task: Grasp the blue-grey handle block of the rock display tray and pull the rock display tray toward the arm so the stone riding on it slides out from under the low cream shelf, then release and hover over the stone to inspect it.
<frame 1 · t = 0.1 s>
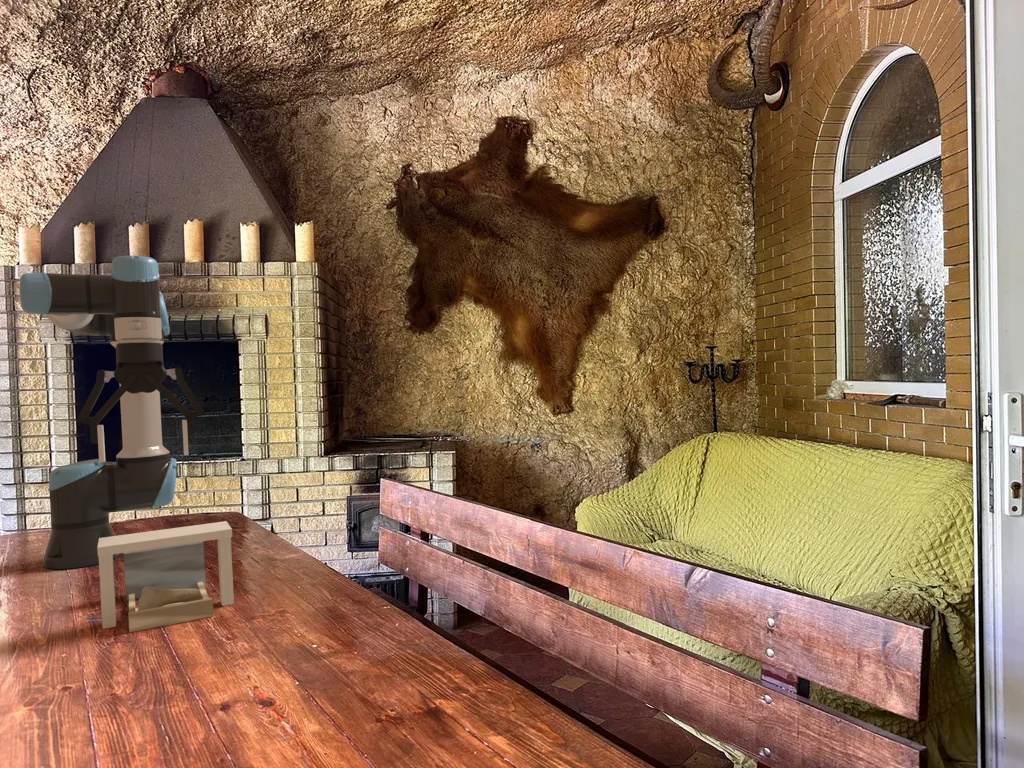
hand: (145, 458, 127), 28 cm above the table, fingers open, 13 cm apart
shelf: (170, 613, 124), on the table
stone: (170, 611, 125), resting on rock display tray
rock display tray: (167, 581, 129), point 4 cm above the table, slide at 0.0 cm, touching stone
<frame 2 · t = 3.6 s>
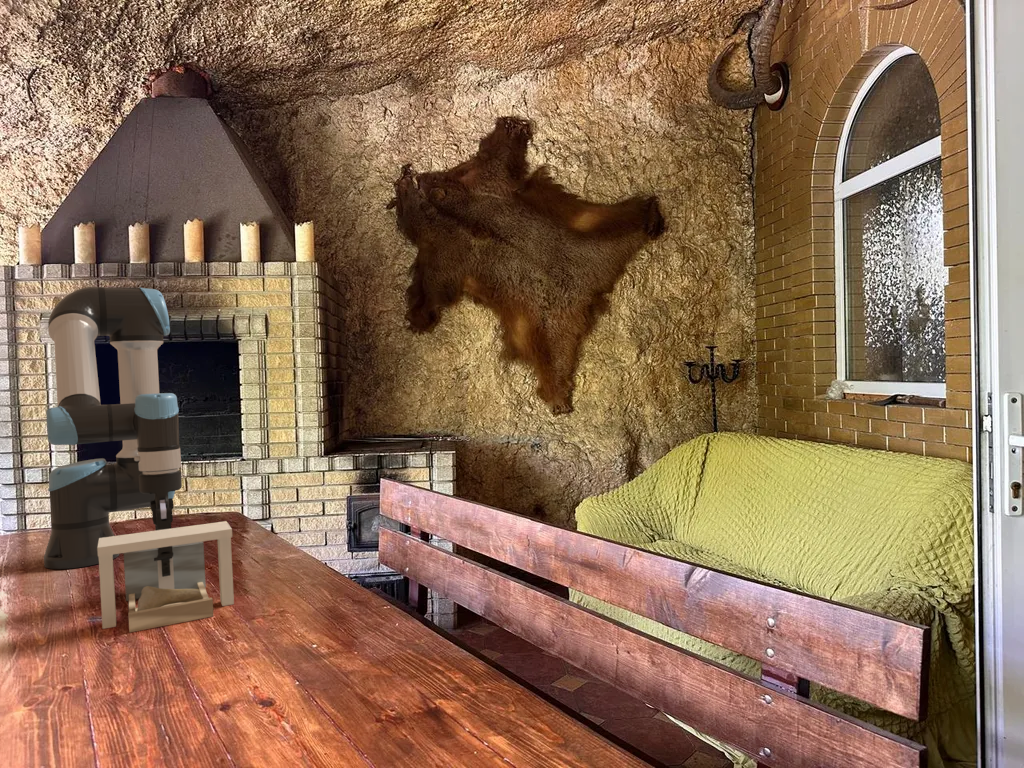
hand: (166, 588, 137), 1 cm above the table, fingers closed on rock display tray, 4 cm apart
rock display tray: (167, 581, 129), point 4 cm above the table, slide at 0.0 cm, touching gripper, stone
everything else where it was.
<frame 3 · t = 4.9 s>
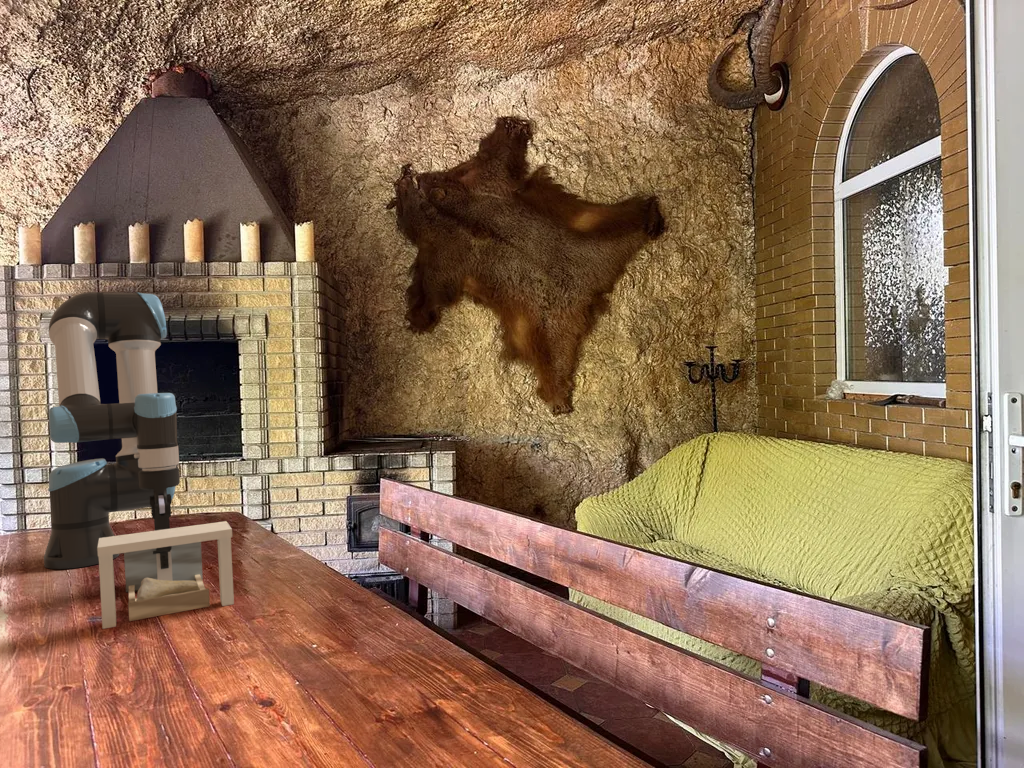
hand: (164, 580, 143), 1 cm above the table, fingers closed on rock display tray, 4 cm apart
stone: (168, 602, 130), resting on rock display tray
rock display tray: (166, 573, 134), point 4 cm above the table, slide at 6.2 cm, touching gripper, stone
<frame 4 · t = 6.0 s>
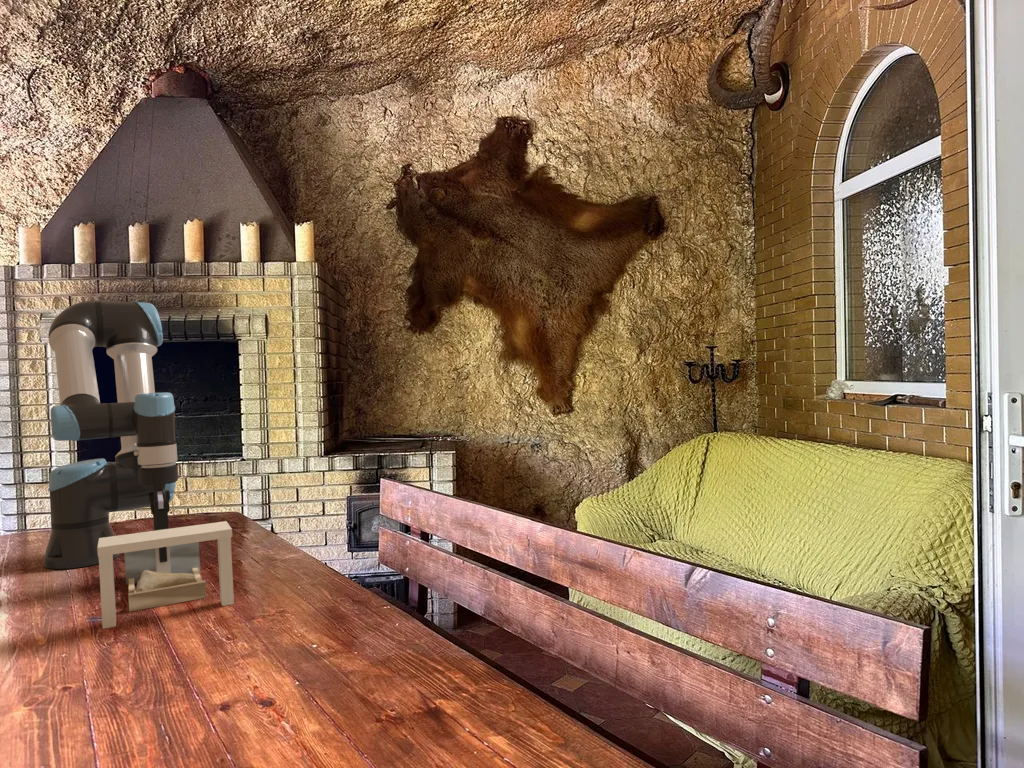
hand: (163, 573, 148), 1 cm above the table, fingers closed on rock display tray, 4 cm apart
stone: (166, 594, 135), resting on rock display tray
rock display tray: (164, 566, 139), point 5 cm above the table, slide at 12.0 cm, touching gripper, stone
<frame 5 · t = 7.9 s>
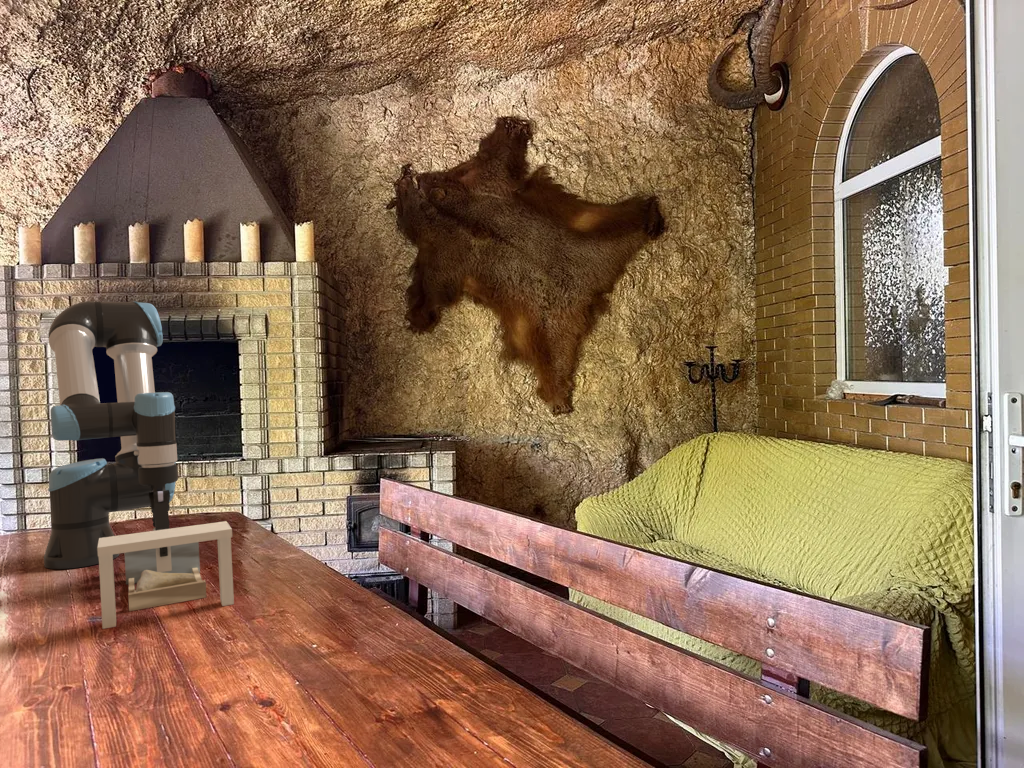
hand: (162, 563, 148), 3 cm above the table, fingers open, 13 cm apart
rock display tray: (164, 565, 139), point 4 cm above the table, slide at 12.2 cm, touching stone
everything else where it was.
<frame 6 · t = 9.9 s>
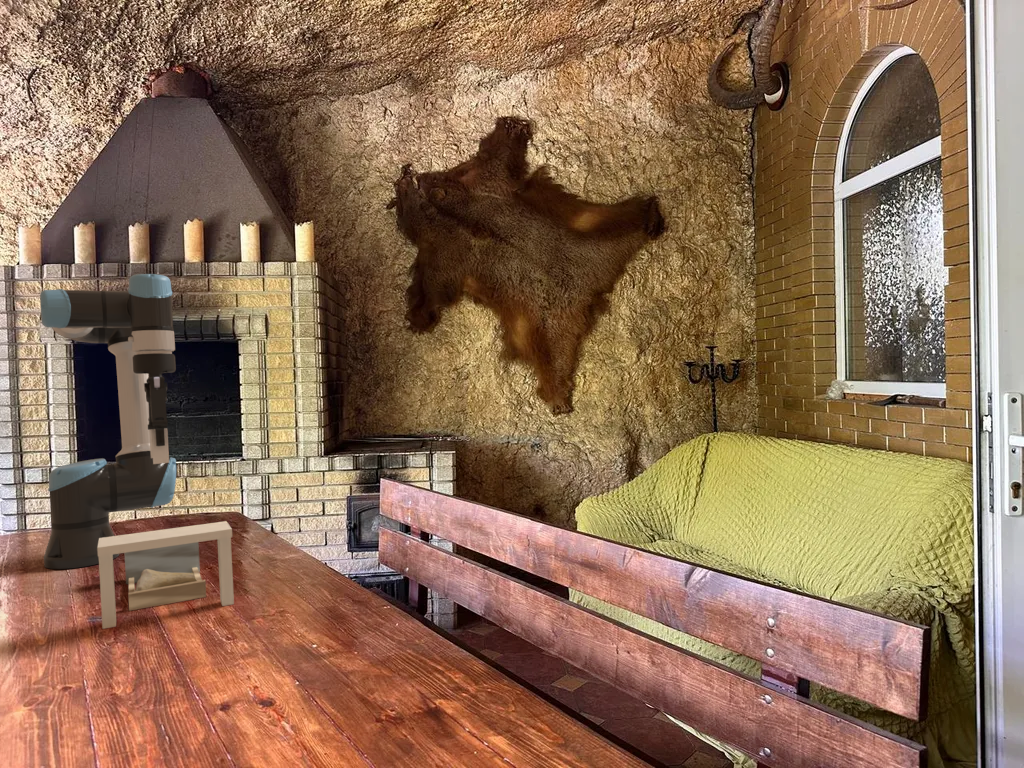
hand: (159, 460, 137), 26 cm above the table, fingers open, 13 cm apart
rock display tray: (164, 565, 140), point 5 cm above the table, slide at 12.5 cm, touching stone
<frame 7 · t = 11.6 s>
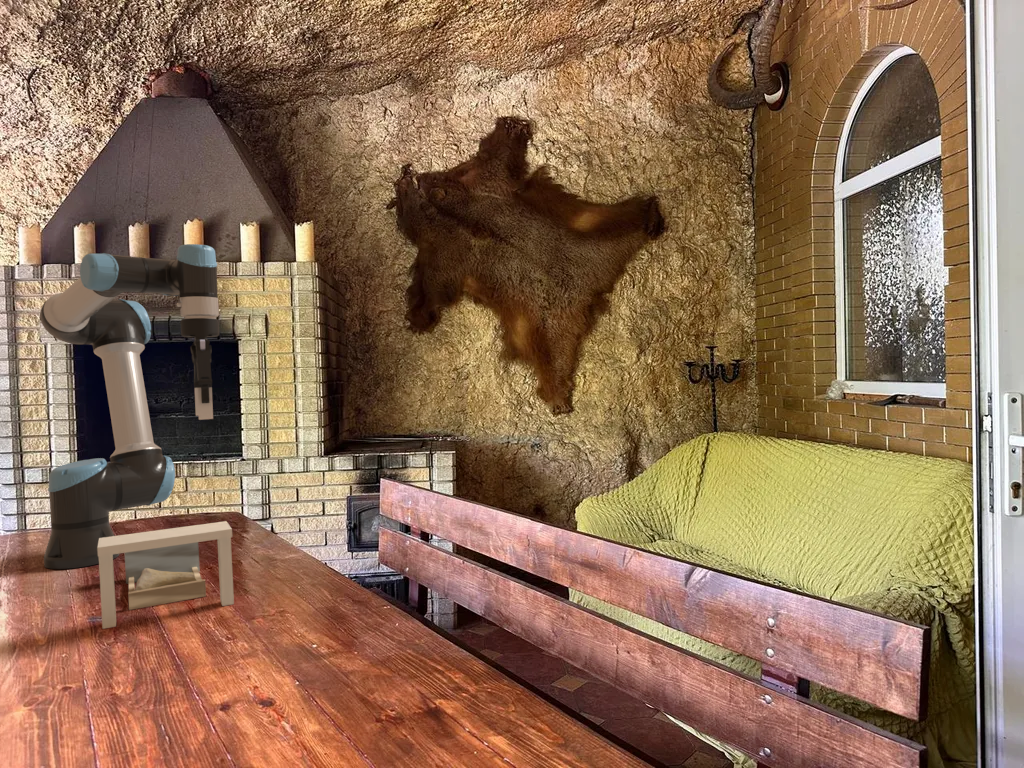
hand: (204, 417, 148), 34 cm above the table, fingers open, 13 cm apart
rock display tray: (164, 564, 140), point 4 cm above the table, slide at 12.9 cm, touching stone
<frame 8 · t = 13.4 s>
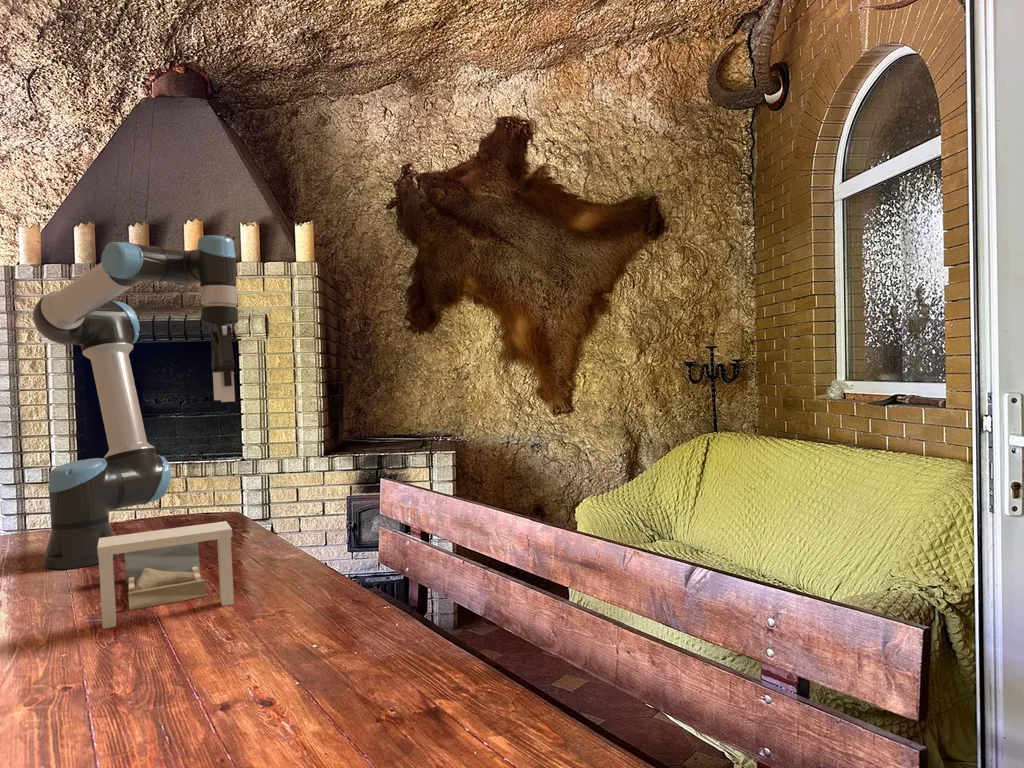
hand: (224, 401, 155), 37 cm above the table, fingers open, 13 cm apart
at the end: stone inside the target area (1.1 cm from its centre), resting on rock display tray; rock display tray slide at 13.0 cm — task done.
